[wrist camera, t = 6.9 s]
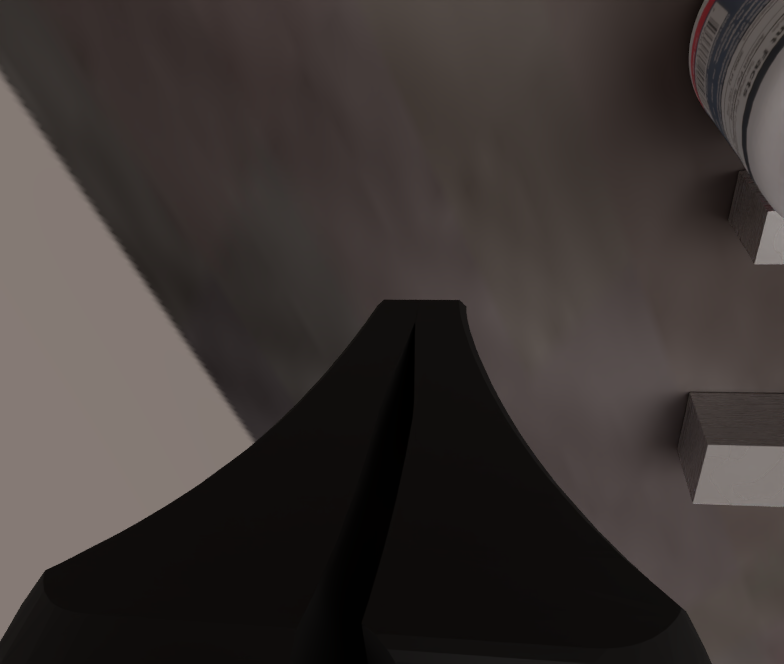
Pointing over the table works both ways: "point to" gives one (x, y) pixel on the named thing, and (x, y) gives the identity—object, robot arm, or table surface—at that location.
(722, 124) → the pill bottle
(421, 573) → the robot arm
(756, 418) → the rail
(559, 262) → the table surface
